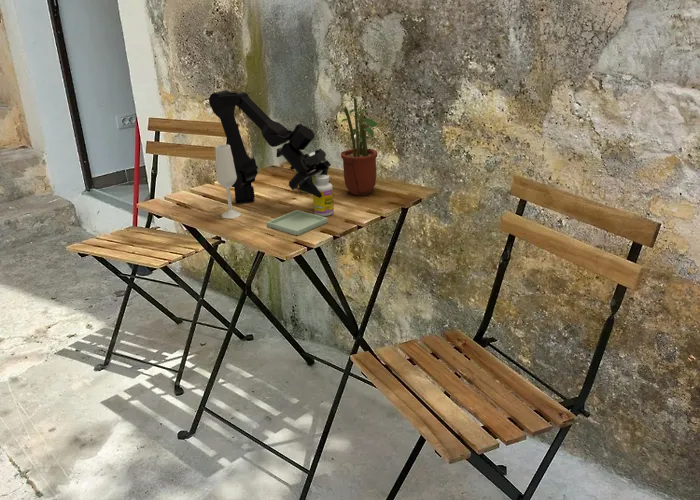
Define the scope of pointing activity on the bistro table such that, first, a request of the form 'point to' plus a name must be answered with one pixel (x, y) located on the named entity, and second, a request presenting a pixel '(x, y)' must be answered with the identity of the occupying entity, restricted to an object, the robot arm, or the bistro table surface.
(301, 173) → the robot arm
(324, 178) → the supplement bottle
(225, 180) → the champagne flute
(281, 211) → the bistro table surface
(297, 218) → the tray
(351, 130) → the potted plant
